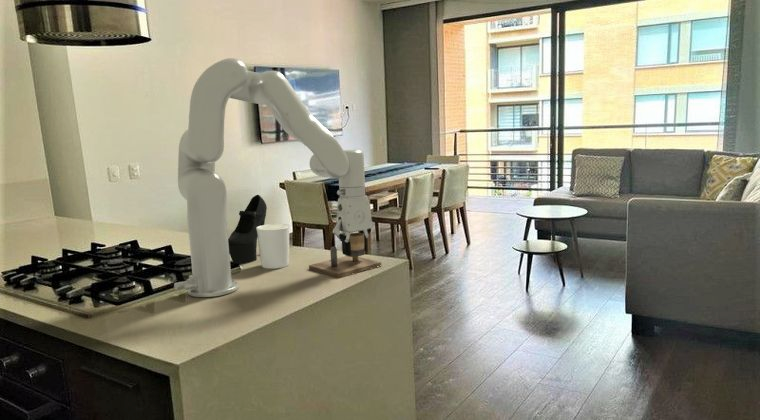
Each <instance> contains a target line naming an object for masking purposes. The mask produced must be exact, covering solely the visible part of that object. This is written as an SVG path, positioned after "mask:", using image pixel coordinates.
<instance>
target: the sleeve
mask: <svg viewBox="0 0 760 420" xmlns="http://www.w3.org/2000/svg"><path fill="white" fill-rule="evenodd" d="M345 235H346V233H345ZM348 242H350V244H351V255H345V256H350V257H356V256H358V257H361V256H365V254H366V251H365V247H364V233H359V232H352V233H350V237H349V241H348Z"/></svg>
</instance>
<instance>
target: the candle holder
mask: <svg viewBox="0 0 760 420" xmlns="http://www.w3.org/2000/svg"><path fill="white" fill-rule="evenodd" d="M256 230H257V236H258V237H257V245H258V249H259V256H260V257H259V258H260V263H261V264H260V265H261V267H262V268H264V269H269V270H271V269H282V268H285V267H288V266H289V264H290V225H289V224H287V223H286V224H285V223H270V224H269V223H268V224H264V225H262V226H258V227H257V228H256Z"/></svg>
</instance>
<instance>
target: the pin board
mask: <svg viewBox="0 0 760 420" xmlns="http://www.w3.org/2000/svg"><path fill="white" fill-rule="evenodd" d="M337 249H338V248H337V247H336V246H335V245H334V246H331V247H330V249H329V251H330V259H329V260H326V261H322V262H317V263H313V264H308V270H311V271H314V272H318V273H321V274H324V275H327V274H328V276H331V275H332V277H334V276H335V278H338V277H340V278H343V277H342V276H344V277H346V276H345V275H347V276H349V275H348V274H351V275H353V274H352V273H355V274H357V273H356V272H358V273H360V272H359V271H362V272H364V271H363V270H366V271H368V270H367V269H369V270H372V269H371V268H373V269H375V268H374V267H377V266H380V265H381V266H382V262H381V261H378V260H373V259H370V258H364V257H361V256H356V257H350V256H346V255H345V256H342V257H338V253H337ZM381 266H380V267H381ZM377 268H378V267H377Z"/></svg>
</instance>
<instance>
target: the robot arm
mask: <svg viewBox="0 0 760 420" xmlns="http://www.w3.org/2000/svg"><path fill="white" fill-rule="evenodd" d="M196 80H197V81H196V82H195V83H194V85H193V88H192V90H191V95H190V99H189V115H188V125H187V126H188V128H187V130H185V131H184V132H183V134H182V135H181V137H180V139H179V142H178V143H179V145H178V157H177V158H178V159H177V160H178V162H177V184H178V185H177V186H178V187H177V188H178V190H179V193H180V195H181V196H182V197H183V199H185V201H186V205H187V209H186V211H187V212H186V213H187V231H188V237H189V238H188V242H189V250H190V262H191V272H192V274H190V275H188V278H187V279H185V281H178V282H174V284H173V288H174V290H175V291H180V290H184V291H187V295H189V296H191V297H194V298H211V297H212V298H213V297H219V296H224V295H229V294H230V293H233V292H235V291H236V290H237V289H239V283H238V281H235V280H233V279H232V271H231V270H232V269H231V268H232V267H231V256H230V254H229V243H228V239H229V234H228V233H229V230H228V222H227V199H228V198H227V197H228V196H227V194H228V193H227V187H226V184H225V182H224V180H223V179H224V178H222V177H221V176H220V175H219V174H218V173H217V172H216V169H215V168H216V162H218V160H220V158H221V157H222V156H223V154H224V148H225V117H226V115H225V114H226V107H227V105H228V101H229V100H230V99H233V100H238V101H240V102H247V103H252V104H258V105H265V106H266V108H267V109H268V110H269V111H270V113H271V114H272V115H273V116H274V118H275V120H276V121H277V122H278V124H279V126H281V128H282V129H283V131H284V132H285V133H287V134H288V135H289V136H290V137H292V138H293V139H294V140H296V141H298V142H300V143H301V144H302V145H304V146H305V147H306V148H308V149H309V151H311V153H312V155H311V157H310V160H309V162H308V163H309V168H310V171H311V172H312V173H313V174H315V175H316V176H318V177H323V178H329V179H338V186H339V189H338V190H337V192H336V194H337V195H338V196H339V197H338V199H337V206H336V225H335V226H334V227H333V230H332V233H333V234H334V235H335V237H337V238H338V239H339V241H340V242H341V251H342V255H345V256H346V255H351V244H350V242H348V241H349V237H350V233H364V247H365V252H367V251H368V238H369V235H370V233H371V232H372V229H373V228H374V226H375V222H374V221H373V220H372V212H371V211H372V210H371V206H370V205H371V204H370V200H369V197H368V195H366V182H365V181H366V178H365V174H366V173H365V157H364V152H363V151H362V150H360V149H345V150H344V149H343V147H342V145H340V143H339V141H338V140H337V139H336V138H335V136H334V135H333V134H332V133H331V132H330V131H329V129H328V128H326V127H325V126H324V125H323V124H322V123H321V122H320V121H319V120H318V119H317V118H315V117H314V115H312V113H311V112H310V110H309V109H308V108H307V106H306V105H305V103H304V102H303V100H302V99H301V98H300V97H299V95H298V93H297V92H296V91H295V89H294V87H293V86H292V85H291V83H290V82H289V81H288V79H287V77H285V75H284V74H283V73H281V72H280V71H278V70H266V71H263V72H257V71H256V72H255V71H251V70H248V68H247V65H245V63H244V62H243V61H241V60H239V59H238V58H231V57H229V58H223V59H221V60H220V61H217V62H215V63H213V64H211V65H210V66H209V67H208V68H206V69H205V70H204V71H203V72H202V73H201V75H200V76H199V77H198V79H196ZM345 234H346V235H345Z"/></svg>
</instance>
